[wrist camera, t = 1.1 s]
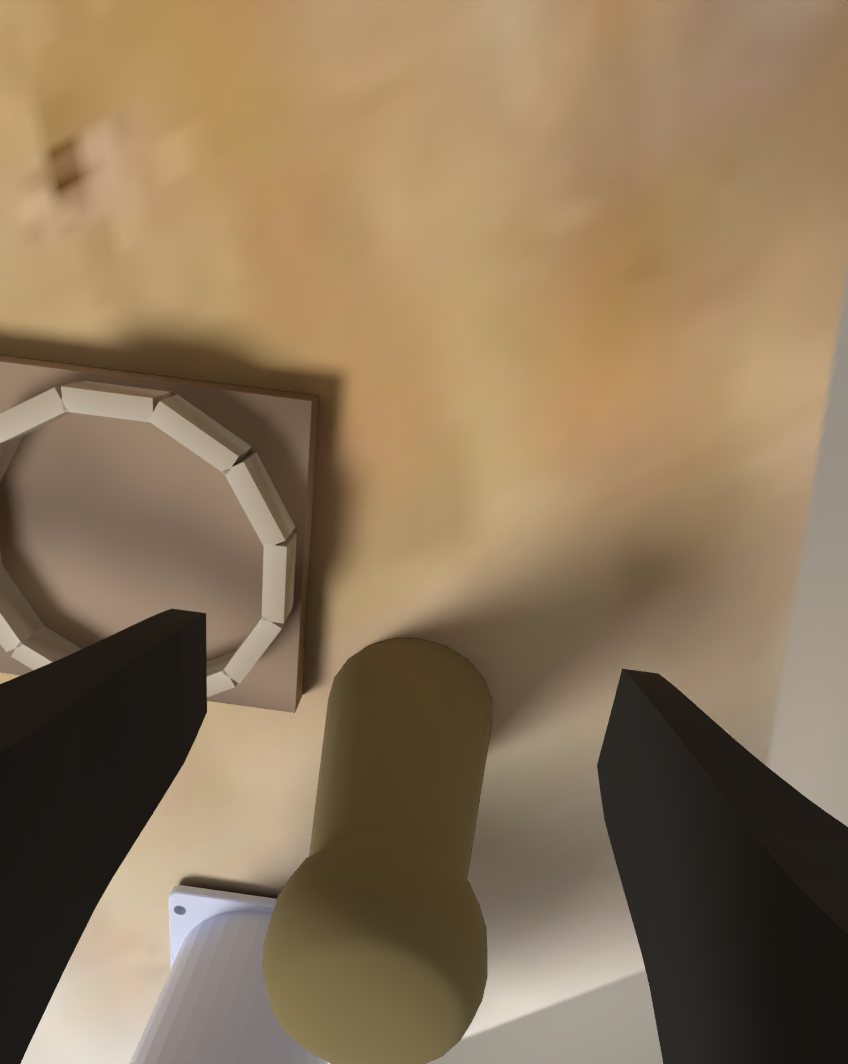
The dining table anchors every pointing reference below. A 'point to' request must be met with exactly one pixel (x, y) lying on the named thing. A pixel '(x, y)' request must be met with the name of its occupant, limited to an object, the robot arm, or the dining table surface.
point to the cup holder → (156, 519)
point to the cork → (388, 866)
